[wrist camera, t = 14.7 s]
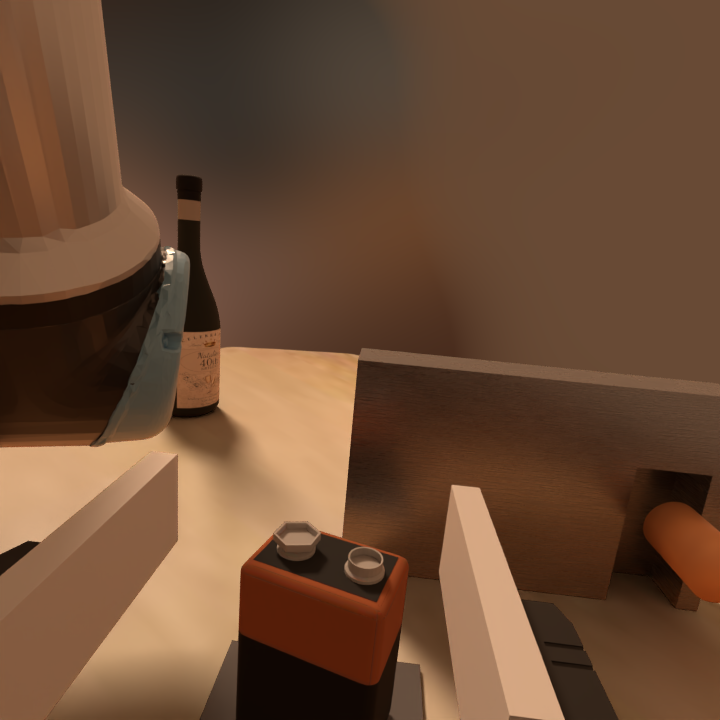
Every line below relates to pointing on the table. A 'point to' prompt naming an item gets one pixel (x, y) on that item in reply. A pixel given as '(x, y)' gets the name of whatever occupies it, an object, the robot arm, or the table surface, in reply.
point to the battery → (318, 628)
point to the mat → (222, 698)
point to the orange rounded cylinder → (687, 546)
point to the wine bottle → (196, 314)
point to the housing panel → (530, 465)
